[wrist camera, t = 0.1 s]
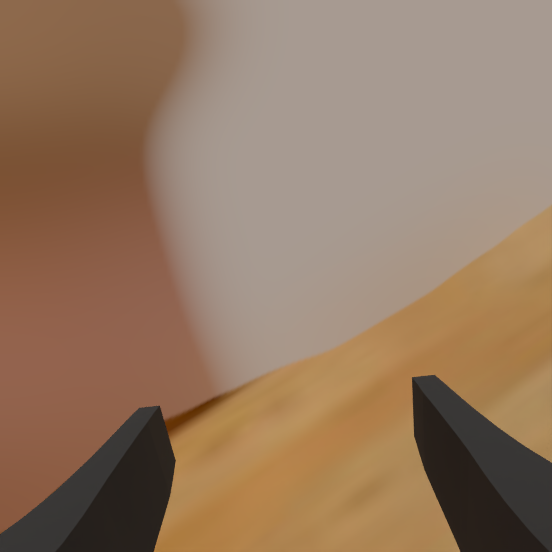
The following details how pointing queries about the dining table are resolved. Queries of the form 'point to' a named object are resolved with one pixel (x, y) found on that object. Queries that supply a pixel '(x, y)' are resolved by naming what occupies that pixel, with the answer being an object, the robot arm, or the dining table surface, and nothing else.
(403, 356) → the dining table surface
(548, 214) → the dining table surface
